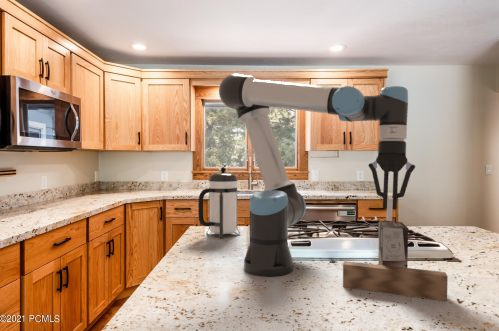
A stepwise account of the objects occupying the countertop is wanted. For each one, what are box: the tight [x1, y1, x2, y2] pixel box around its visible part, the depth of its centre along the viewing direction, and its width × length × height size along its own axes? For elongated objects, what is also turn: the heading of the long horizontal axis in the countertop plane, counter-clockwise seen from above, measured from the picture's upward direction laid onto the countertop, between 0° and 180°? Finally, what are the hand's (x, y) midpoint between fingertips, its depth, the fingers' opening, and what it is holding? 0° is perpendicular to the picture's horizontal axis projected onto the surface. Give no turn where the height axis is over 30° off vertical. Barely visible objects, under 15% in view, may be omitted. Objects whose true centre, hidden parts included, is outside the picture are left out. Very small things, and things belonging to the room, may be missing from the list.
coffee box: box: [378, 221, 409, 268], centre depth 91 cm, size 9×6×16 cm
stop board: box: [342, 260, 449, 302], centre depth 85 cm, size 24×3×6 cm, turn 68°
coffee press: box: [197, 166, 241, 239], centre depth 147 cm, size 17×16×30 cm
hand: (389, 220), depth 99 cm, fingers closed
